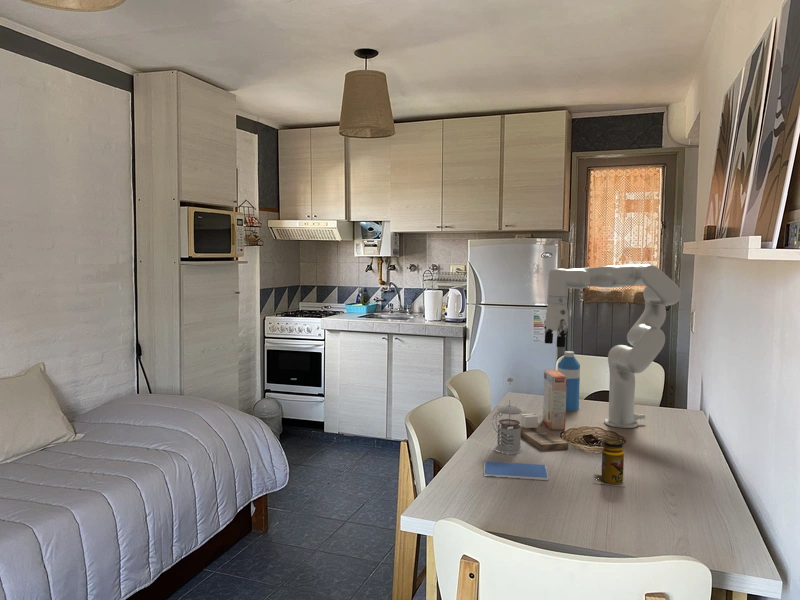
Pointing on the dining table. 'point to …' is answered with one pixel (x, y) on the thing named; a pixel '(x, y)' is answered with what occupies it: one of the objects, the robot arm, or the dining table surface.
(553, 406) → the cracker box
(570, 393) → the water bottle
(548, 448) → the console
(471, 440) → the dining table surface
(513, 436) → the french press
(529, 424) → the fader knob
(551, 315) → the robot arm
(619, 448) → the condiment
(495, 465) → the tablet computer
